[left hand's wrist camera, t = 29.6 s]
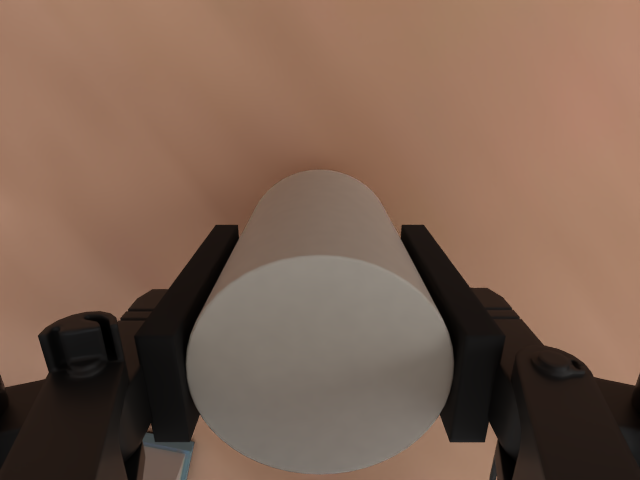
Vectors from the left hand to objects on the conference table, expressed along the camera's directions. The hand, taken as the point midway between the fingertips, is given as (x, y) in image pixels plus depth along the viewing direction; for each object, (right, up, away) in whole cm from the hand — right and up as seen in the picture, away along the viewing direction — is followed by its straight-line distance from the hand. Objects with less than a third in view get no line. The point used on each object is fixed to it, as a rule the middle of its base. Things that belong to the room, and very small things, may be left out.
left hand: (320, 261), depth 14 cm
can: (0, +1, +2) cm, 2 cm away
